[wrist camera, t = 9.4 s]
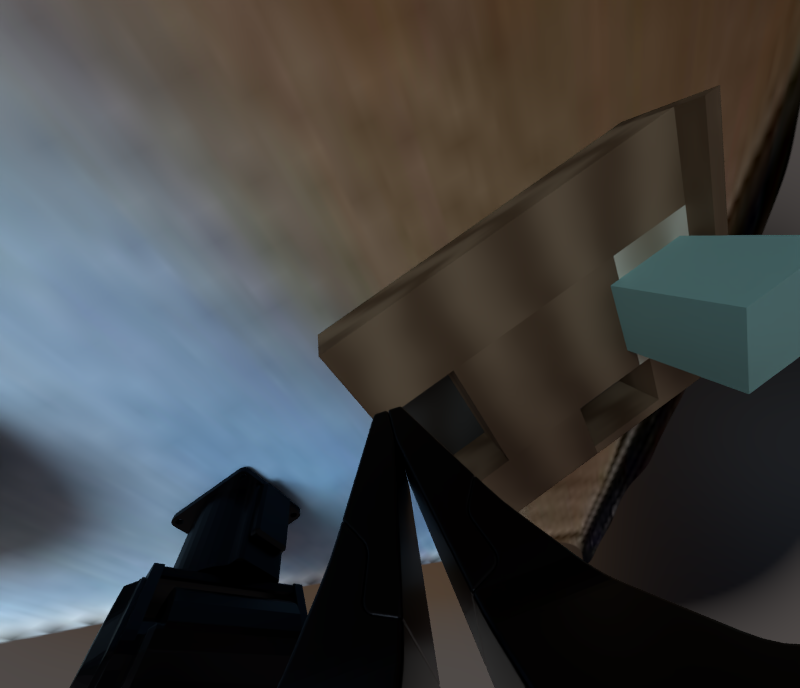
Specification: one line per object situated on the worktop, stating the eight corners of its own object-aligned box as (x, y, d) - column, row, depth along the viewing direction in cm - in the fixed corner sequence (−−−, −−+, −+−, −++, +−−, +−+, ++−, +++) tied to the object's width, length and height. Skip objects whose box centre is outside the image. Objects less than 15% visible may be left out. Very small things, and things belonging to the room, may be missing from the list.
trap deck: (458, 503, 29) (487, 558, 24) (318, 334, 20) (319, 367, 15) (665, 352, 30) (735, 374, 25) (622, 121, 21) (719, 85, 16)
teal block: (627, 350, 23) (749, 393, 16) (610, 285, 20) (746, 307, 14) (688, 305, 23) (833, 331, 16) (679, 235, 20) (845, 234, 14)
